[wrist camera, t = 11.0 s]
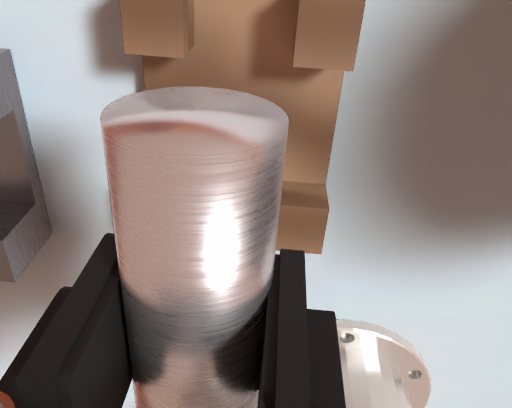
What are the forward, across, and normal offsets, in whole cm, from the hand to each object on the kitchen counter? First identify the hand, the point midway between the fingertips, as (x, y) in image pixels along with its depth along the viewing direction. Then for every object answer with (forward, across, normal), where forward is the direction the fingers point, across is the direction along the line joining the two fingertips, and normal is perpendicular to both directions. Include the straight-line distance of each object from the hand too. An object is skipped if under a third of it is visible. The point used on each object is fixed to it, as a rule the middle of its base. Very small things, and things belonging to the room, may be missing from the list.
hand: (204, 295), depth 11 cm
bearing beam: (+12, 0, 0) cm, 12 cm away
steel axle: (-1, 0, 0) cm, 1 cm away
